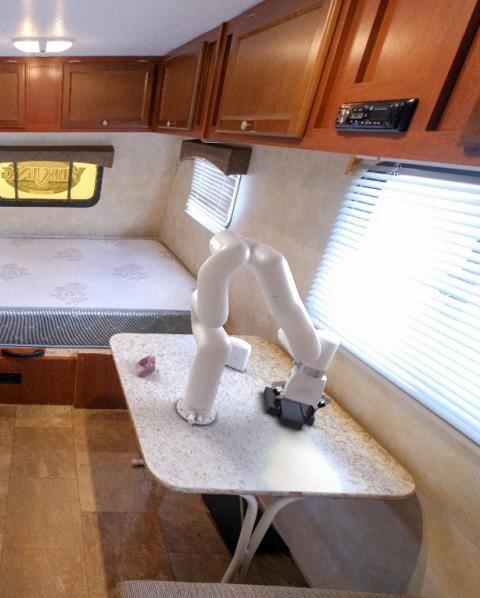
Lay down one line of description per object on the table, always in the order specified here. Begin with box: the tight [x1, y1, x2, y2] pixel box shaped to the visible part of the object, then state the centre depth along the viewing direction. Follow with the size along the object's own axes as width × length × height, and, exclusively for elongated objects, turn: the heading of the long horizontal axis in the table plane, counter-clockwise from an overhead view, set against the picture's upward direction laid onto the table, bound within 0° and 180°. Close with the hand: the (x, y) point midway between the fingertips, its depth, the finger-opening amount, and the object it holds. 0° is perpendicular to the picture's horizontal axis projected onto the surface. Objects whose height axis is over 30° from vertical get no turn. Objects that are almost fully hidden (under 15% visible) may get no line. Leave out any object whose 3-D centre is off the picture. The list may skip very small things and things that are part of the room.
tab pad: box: [278, 400, 305, 431], centre depth 122 cm, size 10×6×3 cm, turn 159°
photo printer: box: [225, 336, 252, 372], centre depth 147 cm, size 10×4×12 cm, turn 47°
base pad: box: [263, 386, 316, 427], centre depth 126 cm, size 12×14×3 cm
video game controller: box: [138, 354, 157, 377], centre depth 140 cm, size 10×5×7 cm, turn 171°
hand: (291, 411), depth 118 cm, fingers open, 9 cm apart
